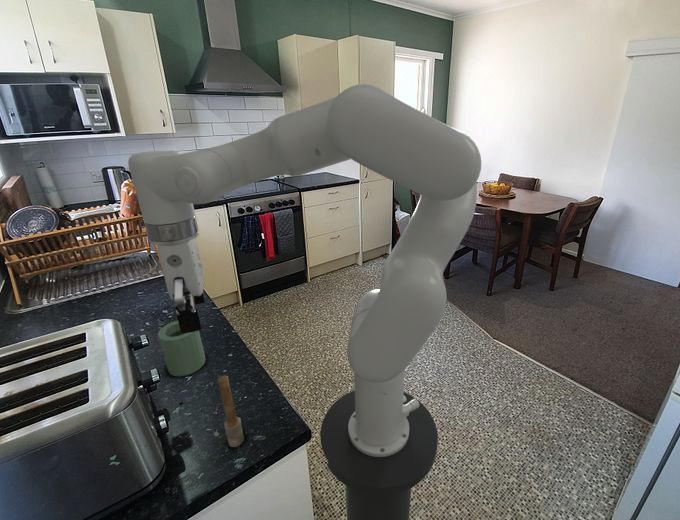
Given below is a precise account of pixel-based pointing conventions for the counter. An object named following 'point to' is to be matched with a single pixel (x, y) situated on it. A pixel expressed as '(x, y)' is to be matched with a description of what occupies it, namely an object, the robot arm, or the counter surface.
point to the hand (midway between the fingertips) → (194, 316)
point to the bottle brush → (230, 414)
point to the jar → (181, 350)
